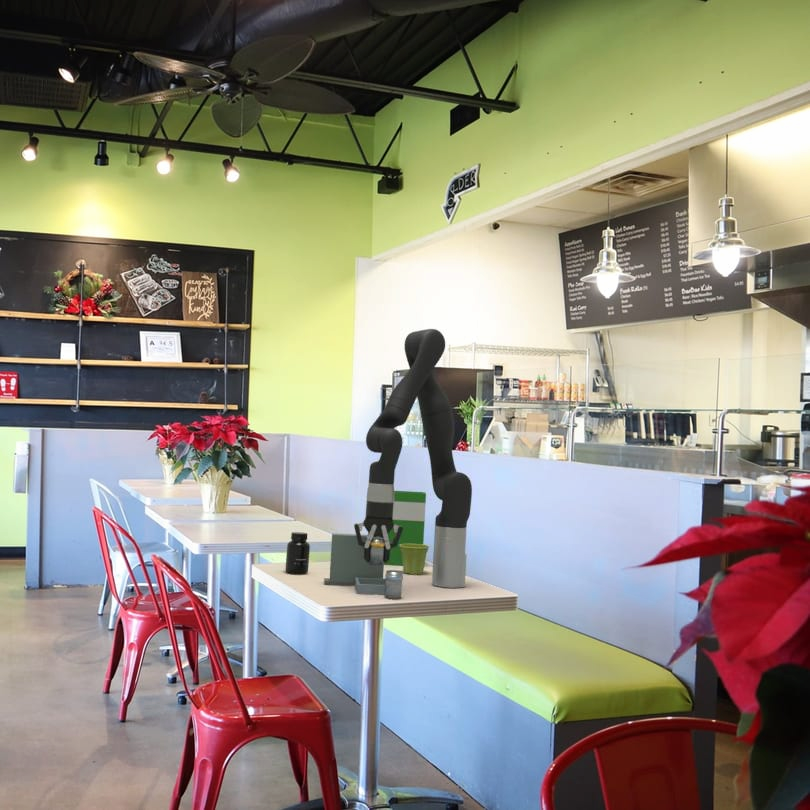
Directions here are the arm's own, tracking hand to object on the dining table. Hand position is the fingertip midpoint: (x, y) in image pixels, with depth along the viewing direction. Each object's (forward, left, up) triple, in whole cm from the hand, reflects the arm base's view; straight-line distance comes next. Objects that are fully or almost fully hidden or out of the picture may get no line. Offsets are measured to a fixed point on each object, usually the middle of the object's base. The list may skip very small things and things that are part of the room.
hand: (376, 561), depth 253 cm
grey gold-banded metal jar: (0, 0, -1) cm, 1 cm away
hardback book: (-10, -51, -8) cm, 53 cm away
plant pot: (-14, -33, -8) cm, 37 cm away
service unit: (+5, -9, -8) cm, 13 cm away
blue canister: (-4, +10, -8) cm, 13 cm away
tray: (0, 0, -8) cm, 8 cm away
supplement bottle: (+22, -25, -8) cm, 34 cm away
